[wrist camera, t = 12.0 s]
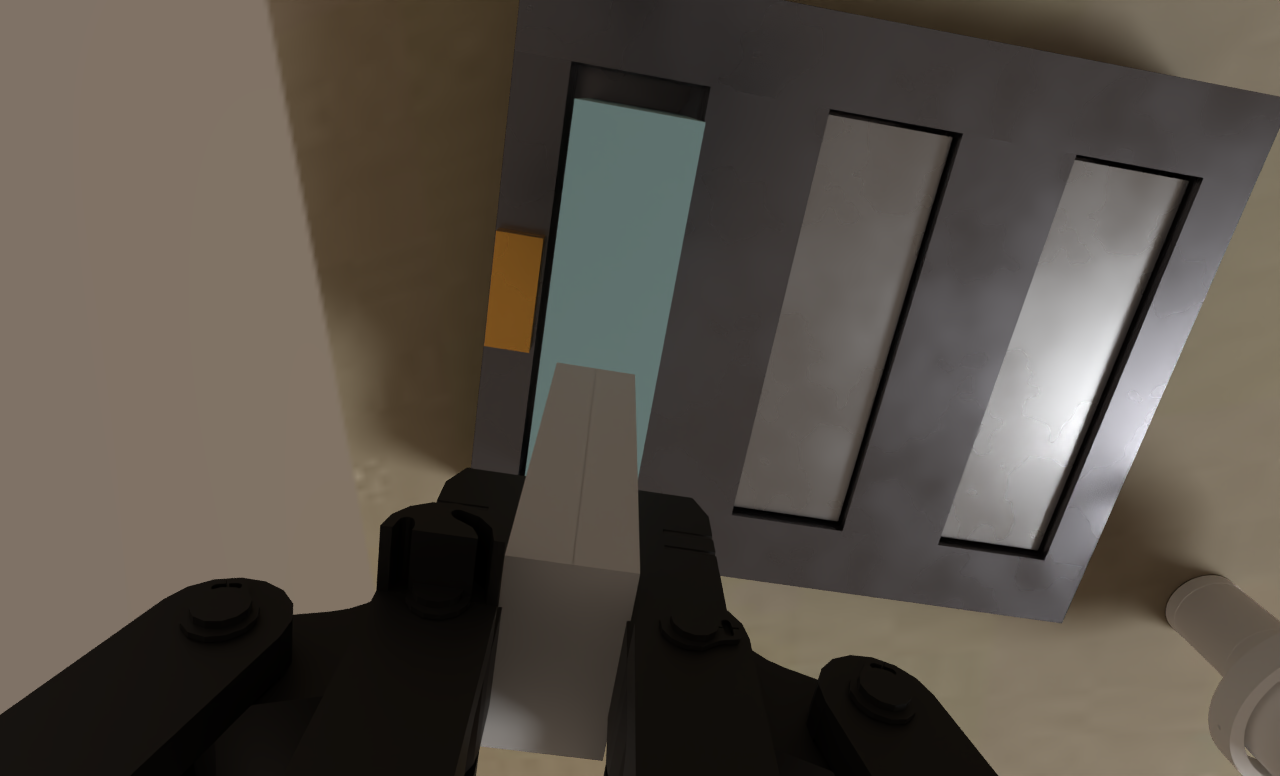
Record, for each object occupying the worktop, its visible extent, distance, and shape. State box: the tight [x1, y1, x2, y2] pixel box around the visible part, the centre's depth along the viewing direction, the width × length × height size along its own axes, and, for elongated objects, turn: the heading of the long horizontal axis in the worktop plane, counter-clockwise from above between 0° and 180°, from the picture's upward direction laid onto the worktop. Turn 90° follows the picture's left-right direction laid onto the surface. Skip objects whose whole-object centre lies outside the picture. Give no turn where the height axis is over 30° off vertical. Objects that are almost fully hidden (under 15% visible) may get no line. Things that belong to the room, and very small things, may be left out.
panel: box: [525, 98, 706, 476], centre depth 23 cm, size 12×3×8 cm, turn 170°
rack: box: [471, 0, 1280, 623], centre depth 26 cm, size 18×22×5 cm
